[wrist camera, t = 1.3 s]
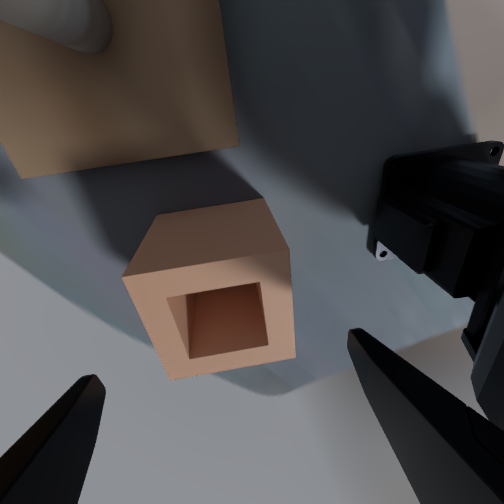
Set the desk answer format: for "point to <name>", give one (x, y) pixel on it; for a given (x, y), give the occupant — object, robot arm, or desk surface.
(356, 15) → the desk surface
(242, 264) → the collar
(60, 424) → the robot arm
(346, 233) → the desk surface
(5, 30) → the pin board
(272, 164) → the desk surface
